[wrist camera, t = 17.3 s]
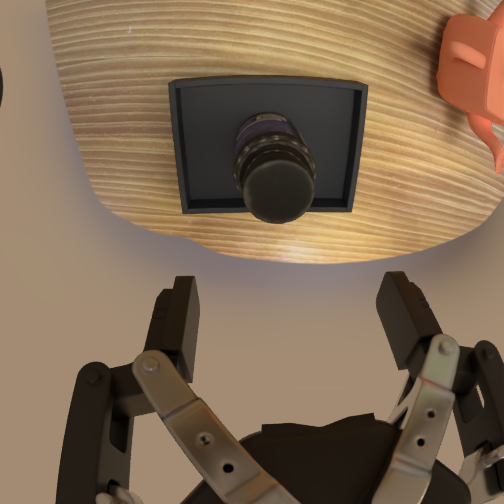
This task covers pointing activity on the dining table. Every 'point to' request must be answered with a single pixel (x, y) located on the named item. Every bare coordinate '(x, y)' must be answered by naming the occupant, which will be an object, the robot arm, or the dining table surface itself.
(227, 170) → the tray
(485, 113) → the teapot
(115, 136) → the dining table surface
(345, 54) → the dining table surface
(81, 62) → the dining table surface
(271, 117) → the pill bottle
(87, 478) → the robot arm
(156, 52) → the dining table surface
